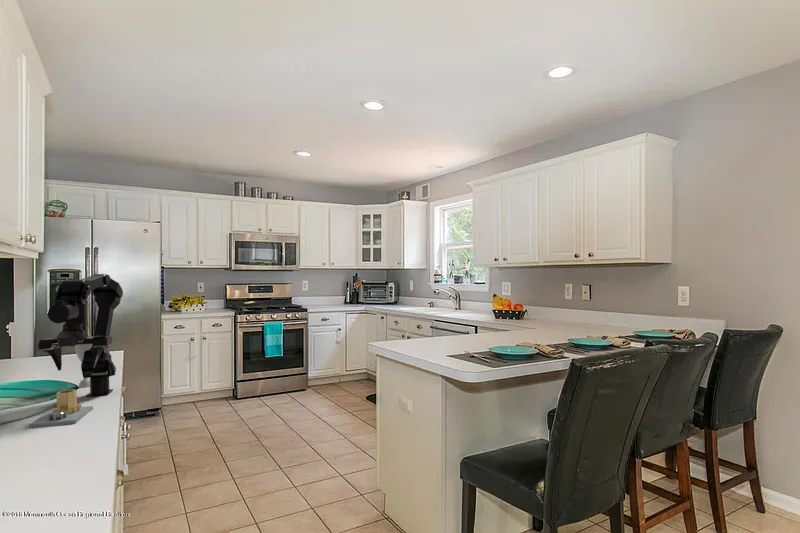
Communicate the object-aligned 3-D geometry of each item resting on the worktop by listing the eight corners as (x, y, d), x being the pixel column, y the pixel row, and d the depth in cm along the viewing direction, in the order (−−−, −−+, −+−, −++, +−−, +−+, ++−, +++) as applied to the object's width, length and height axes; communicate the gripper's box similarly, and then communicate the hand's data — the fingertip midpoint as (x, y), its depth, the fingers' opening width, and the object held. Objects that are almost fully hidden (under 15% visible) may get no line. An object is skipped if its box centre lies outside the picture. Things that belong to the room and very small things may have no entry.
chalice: (101, 383, 180) (100, 336, 180) (88, 388, 173) (87, 339, 173) (83, 383, 180) (82, 336, 180) (69, 388, 174) (68, 339, 174)
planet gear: (58, 409, 144) (57, 389, 144) (84, 407, 146) (84, 387, 146) (48, 416, 137) (47, 395, 137) (76, 413, 139) (75, 393, 139)
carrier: (51, 412, 144) (51, 394, 144) (92, 409, 147) (92, 391, 147) (29, 427, 130) (29, 407, 130) (75, 423, 133) (75, 403, 133)
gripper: (28, 324, 139) (29, 377, 139) (100, 320, 144) (101, 372, 144) (45, 320, 149) (46, 369, 149) (112, 317, 154) (113, 365, 154)
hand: (76, 369), depth 149 cm, fingers open, 9 cm apart
